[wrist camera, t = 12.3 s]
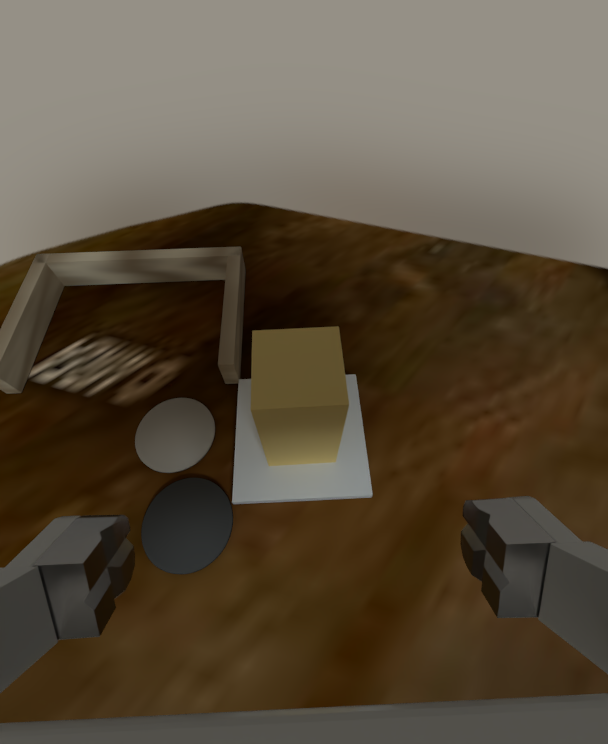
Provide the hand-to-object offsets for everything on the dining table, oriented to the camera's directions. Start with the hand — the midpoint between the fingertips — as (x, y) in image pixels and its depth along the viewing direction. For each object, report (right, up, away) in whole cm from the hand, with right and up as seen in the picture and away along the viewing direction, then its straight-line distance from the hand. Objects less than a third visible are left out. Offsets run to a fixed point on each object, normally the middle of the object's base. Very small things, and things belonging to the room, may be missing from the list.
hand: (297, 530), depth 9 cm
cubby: (-12, +7, +19) cm, 23 cm away
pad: (0, 0, +14) cm, 14 cm away
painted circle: (-8, 0, +14) cm, 16 cm away
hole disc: (-6, -5, +12) cm, 14 cm away
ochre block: (0, 0, +14) cm, 14 cm away
